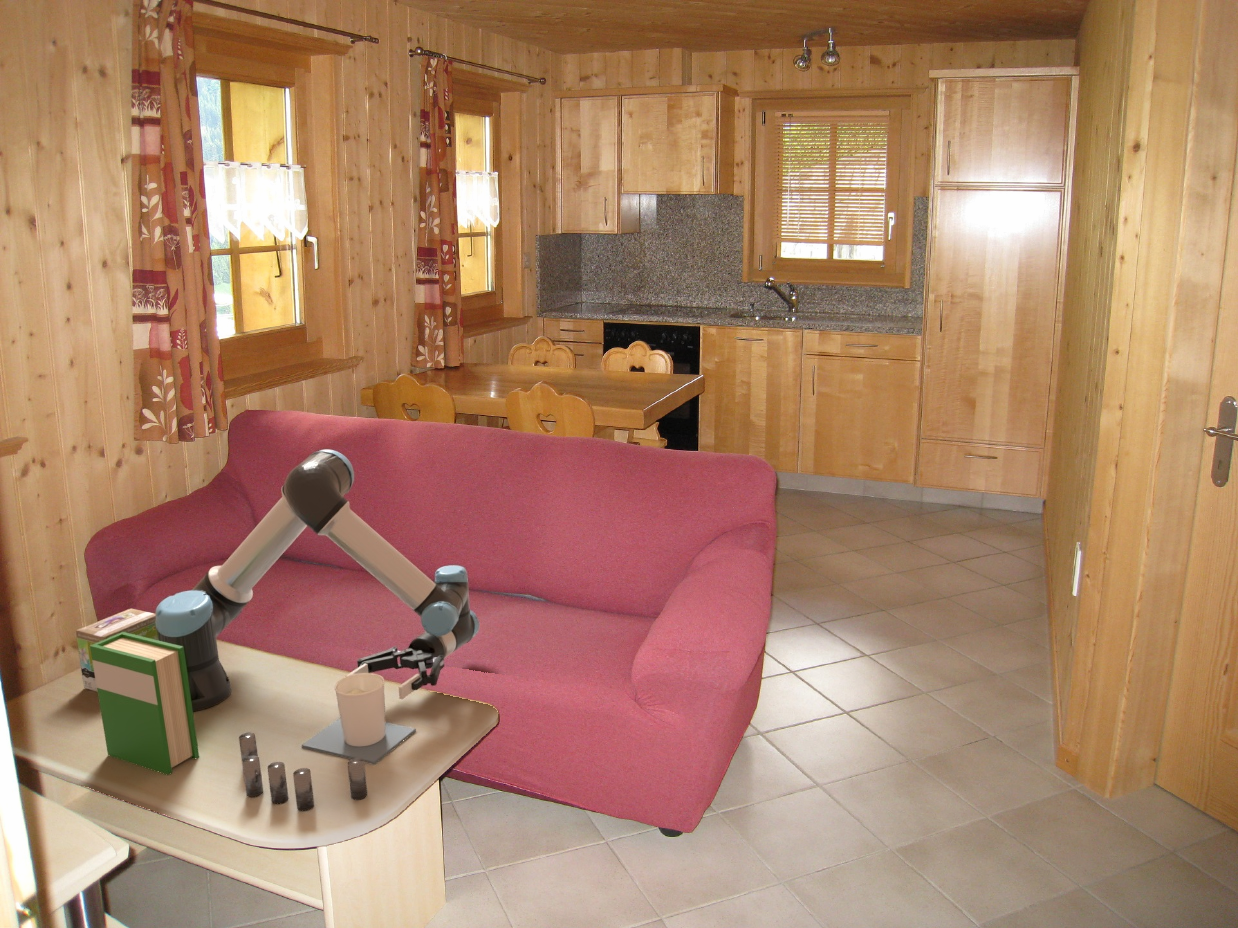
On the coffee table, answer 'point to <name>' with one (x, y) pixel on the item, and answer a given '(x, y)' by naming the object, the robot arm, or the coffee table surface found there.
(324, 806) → the coffee table surface
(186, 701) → the hardback book
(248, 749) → the spacer posts
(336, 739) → the mat
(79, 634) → the tea box
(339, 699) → the candle holder
